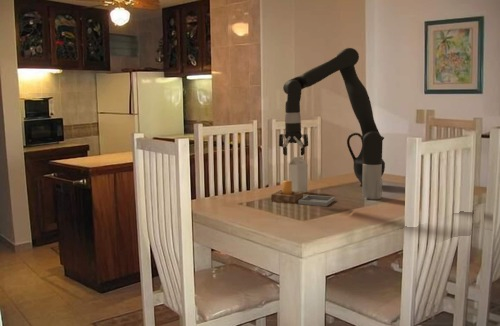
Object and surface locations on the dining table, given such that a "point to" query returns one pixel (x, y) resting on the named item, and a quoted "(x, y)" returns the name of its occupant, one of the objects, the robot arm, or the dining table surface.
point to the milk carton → (298, 174)
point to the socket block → (286, 197)
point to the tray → (316, 200)
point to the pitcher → (360, 159)
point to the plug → (287, 187)
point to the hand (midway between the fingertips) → (293, 155)
